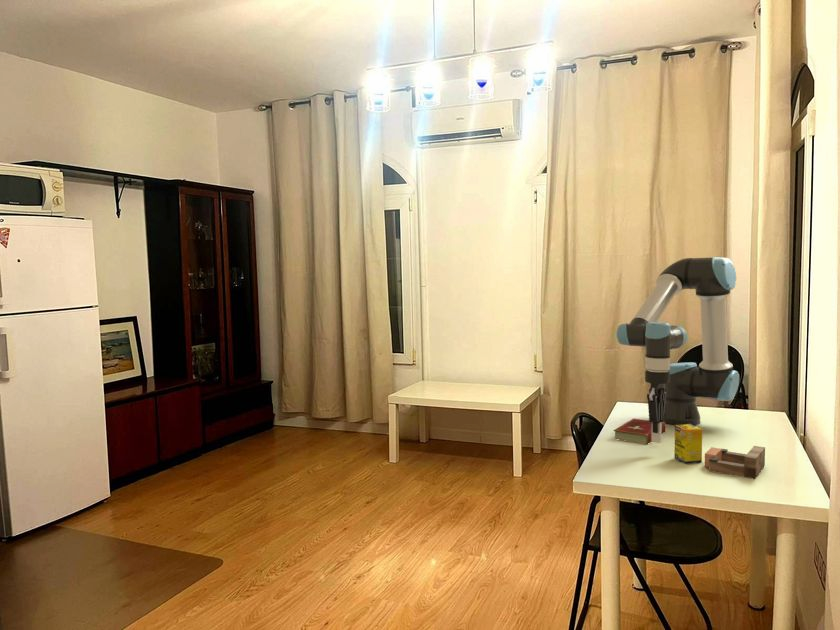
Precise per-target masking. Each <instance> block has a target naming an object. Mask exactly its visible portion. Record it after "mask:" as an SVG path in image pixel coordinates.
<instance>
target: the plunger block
mask: <svg viewBox="0 0 840 630" xmlns="http://www.w3.org/2000/svg"><path fill="white" fill-rule="evenodd" d="M722 449H723V448H721V447H718V448H717V447H714V446H713V447H710V448H709V449H708V450H707V451H706V452H705V453H704V467H706V468H709V459H710V458H711V457H713V458H719V460H720V461H722Z"/></svg>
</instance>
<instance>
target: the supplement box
mask: <svg viewBox="0 0 840 630" xmlns="http://www.w3.org/2000/svg"><path fill="white" fill-rule="evenodd" d="M673 451H674V454H673V455H674V456H673V457H674V459H675V460H677V461H680V462H681V463H683V464H685V465H687V464H688V465H689V464H700V463H702V462H703V461H702V460H703V428H701V427H698V426H696V425H691V424H686V425H674V450H673Z"/></svg>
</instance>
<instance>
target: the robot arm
mask: <svg viewBox="0 0 840 630" xmlns="http://www.w3.org/2000/svg"><path fill="white" fill-rule="evenodd" d="M736 272H737V271H736V268H735V265H734V264H733V262H732V260H730V259H729V258H727V257H718V256H716V257H715V256H714V257H713V256H712V257H711V256H710V257H686V258H682V259H680V260H679V259H678V260H676V261H674V262H672V264H670V265H669V266H667V267H666V268H665V269H663V271H662V272H661V273H660V274H659V275H658V277H657V278H656V281H655V286H654V288H653V289H652V291H651V292H650V294H649V295H648V296H647V297H646V299H645V300H644V302H643V304H642V305H641V307H640V308H639V309H638V311H637V312H636V313H635V315H634V317H633V318H632V320H630V322H629V323H621V324H620V325H618V326H617V330H616V339H617V342H618V344H620V345H622V346H629V347H641V348H642V347H645V354H644V355H645V358H644V359H643V362H644V363H645V364H644V365H645V370H644V382H646V383H649V384H650V386H649V389H648V393H647V394H646V398H647V404H648V405H647V406H648V420H649V422H652V440H651V442H650V443H656V444H661V443H662V435H663V434H662V422H664V423H665V424H668V425H674V426H675V425H686V424H691V425H693V426H696V425H699V424H701V415H700V411H699V409H698V408H699V407H698V406H697V398H699V399H708V400H714V401H723V402H724V401H725V402H730V401H731V400H732V399H734V398H735V396H736V394H737V392H738V388H739V385H740V373H739V372H738V371H737V370H734V366H733V363H732V362H730V360H729V354H728V353H729V351H728V349H729V348H728V323H727V317H728V315H727V297H728V296H729V295H730V294H731V290H733V289H735V287H736V285H737V283H736V282H737V273H736ZM682 290H695V296H696V297H697V298H698V299H699V300H700V321H701V322H700V323H701V343H702V361H701V362H700V363H699V365H697V362H692V361H691V362H676V363H671V350H674V349H679V348H681V347H683V346H684V345H685V344H686V343H687V340H688V334H687V331H686V330H685V328H684V327H682V326H680V325H671V324H670V323H669V322H664V321H663V322H662V321H660V319H661V318H662V316H663V314H664V313H665V311H666V310H667V308H668V307H669V305H670V304H671V301H673V299H674V297H675V296H676V295H679V294H680V293H681V292H682ZM661 434H662V435H661Z"/></svg>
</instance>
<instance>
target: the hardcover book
mask: <svg viewBox="0 0 840 630" xmlns="http://www.w3.org/2000/svg"><path fill="white" fill-rule="evenodd" d="M666 430H667V427H666V423H664V422H662V433H663V434H665V433H666ZM612 431H613V432H614V440H615V439H619V440H618V441H621V440H626V441H625V442H628V441H631V442H630V443H634V442H638V443H637V444H640V443H644V444H643V445H646V444H647V445H649V444H651V443H652V442H651V440H652V422H649V419H648V420H647V419H641V418H632V419H630V420H628V421H627V422H625V423H624V424H622V425H620V426H618V427H616V428H615V429H613V430H612ZM648 443H649V444H648Z"/></svg>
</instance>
